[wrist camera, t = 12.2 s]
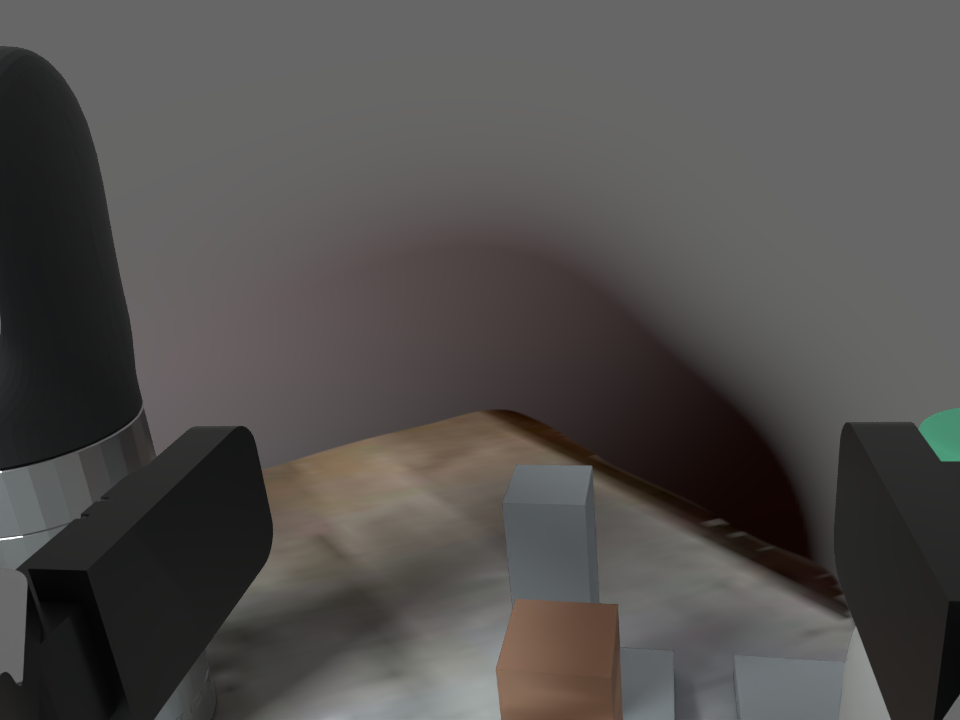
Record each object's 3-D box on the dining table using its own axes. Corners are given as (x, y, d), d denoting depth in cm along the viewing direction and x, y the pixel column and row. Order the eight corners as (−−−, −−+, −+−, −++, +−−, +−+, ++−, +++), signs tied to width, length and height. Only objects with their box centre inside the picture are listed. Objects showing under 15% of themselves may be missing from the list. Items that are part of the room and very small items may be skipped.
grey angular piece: (515, 790, 36) (489, 534, 32) (542, 661, 44) (524, 441, 40) (958, 839, 32) (997, 552, 28) (902, 687, 40) (926, 444, 36)
